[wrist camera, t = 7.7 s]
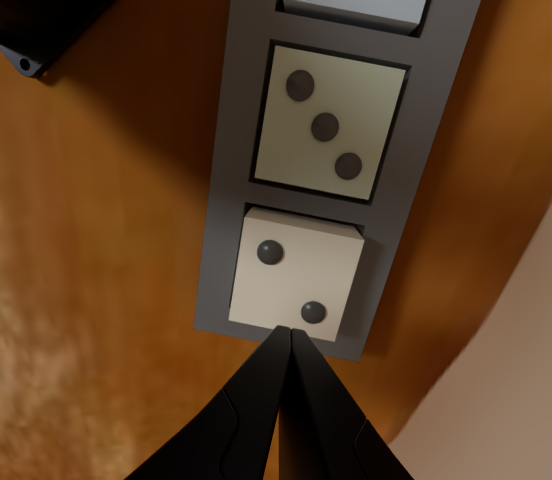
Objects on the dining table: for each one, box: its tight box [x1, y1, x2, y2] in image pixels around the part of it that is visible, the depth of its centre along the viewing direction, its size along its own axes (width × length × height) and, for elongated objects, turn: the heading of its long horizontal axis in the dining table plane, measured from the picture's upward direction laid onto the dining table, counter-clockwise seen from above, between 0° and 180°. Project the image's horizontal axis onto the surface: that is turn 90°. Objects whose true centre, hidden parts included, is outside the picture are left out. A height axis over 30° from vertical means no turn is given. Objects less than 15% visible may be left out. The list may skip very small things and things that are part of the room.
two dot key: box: [229, 206, 365, 342], centre depth 13 cm, size 5×5×2 cm
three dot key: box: [255, 46, 406, 200], centre depth 13 cm, size 5×5×2 cm
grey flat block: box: [193, 0, 481, 362], centre depth 13 cm, size 22×9×2 cm, turn 169°
